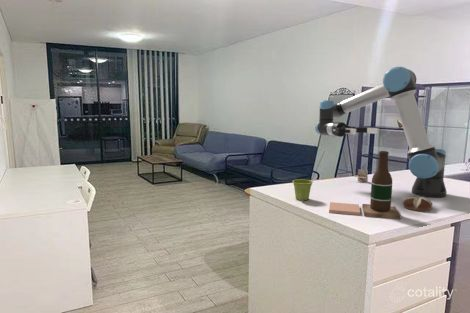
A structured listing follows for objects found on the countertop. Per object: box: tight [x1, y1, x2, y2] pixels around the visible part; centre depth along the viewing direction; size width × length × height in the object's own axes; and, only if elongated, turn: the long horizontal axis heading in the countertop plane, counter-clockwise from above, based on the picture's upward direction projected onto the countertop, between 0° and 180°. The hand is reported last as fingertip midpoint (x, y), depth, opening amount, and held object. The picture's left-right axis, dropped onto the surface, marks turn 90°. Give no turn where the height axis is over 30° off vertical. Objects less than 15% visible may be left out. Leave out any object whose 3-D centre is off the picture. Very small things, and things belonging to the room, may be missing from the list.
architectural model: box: [354, 169, 369, 183], centre depth 194 cm, size 3×7×7 cm, turn 52°
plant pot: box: [292, 178, 314, 202], centre depth 155 cm, size 9×9×9 cm
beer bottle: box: [369, 150, 393, 212], centre depth 133 cm, size 8×8×24 cm
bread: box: [402, 195, 433, 213], centre depth 141 cm, size 11×11×5 cm
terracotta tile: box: [328, 201, 361, 216], centre depth 138 cm, size 12×12×1 cm
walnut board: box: [361, 203, 401, 220], centre depth 134 cm, size 13×13×2 cm
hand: (366, 131), depth 156 cm, fingers open, 13 cm apart
